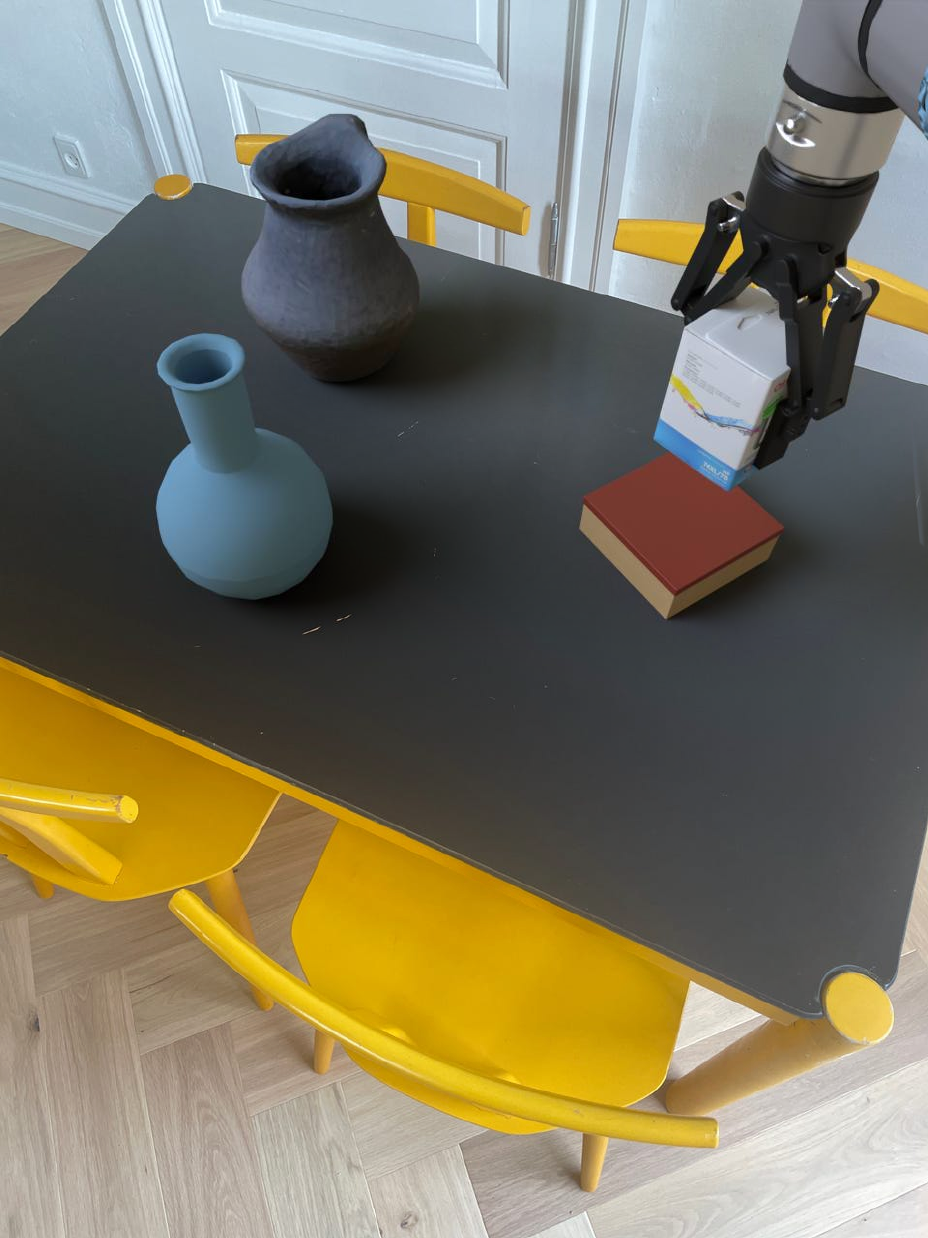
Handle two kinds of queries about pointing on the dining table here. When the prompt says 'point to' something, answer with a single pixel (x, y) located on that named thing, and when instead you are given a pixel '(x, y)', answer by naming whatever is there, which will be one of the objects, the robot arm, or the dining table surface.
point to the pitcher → (328, 253)
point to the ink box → (726, 388)
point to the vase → (236, 482)
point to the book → (677, 532)
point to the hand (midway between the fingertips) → (726, 425)
